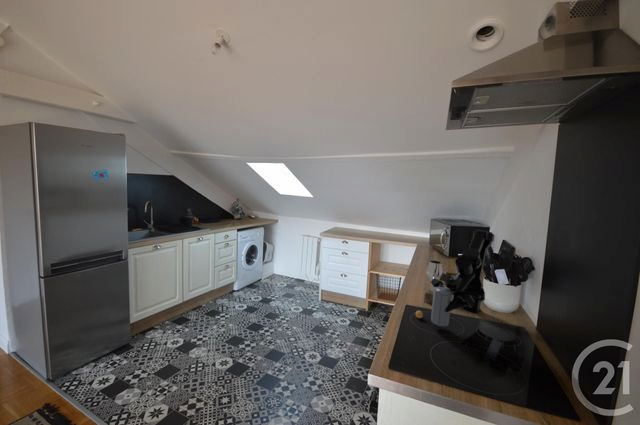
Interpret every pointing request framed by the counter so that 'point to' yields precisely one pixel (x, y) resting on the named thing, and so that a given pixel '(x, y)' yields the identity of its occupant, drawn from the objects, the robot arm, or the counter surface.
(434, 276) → the wineglass
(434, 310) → the tumbler
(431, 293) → the walnut block
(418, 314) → the ball
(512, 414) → the counter surface
